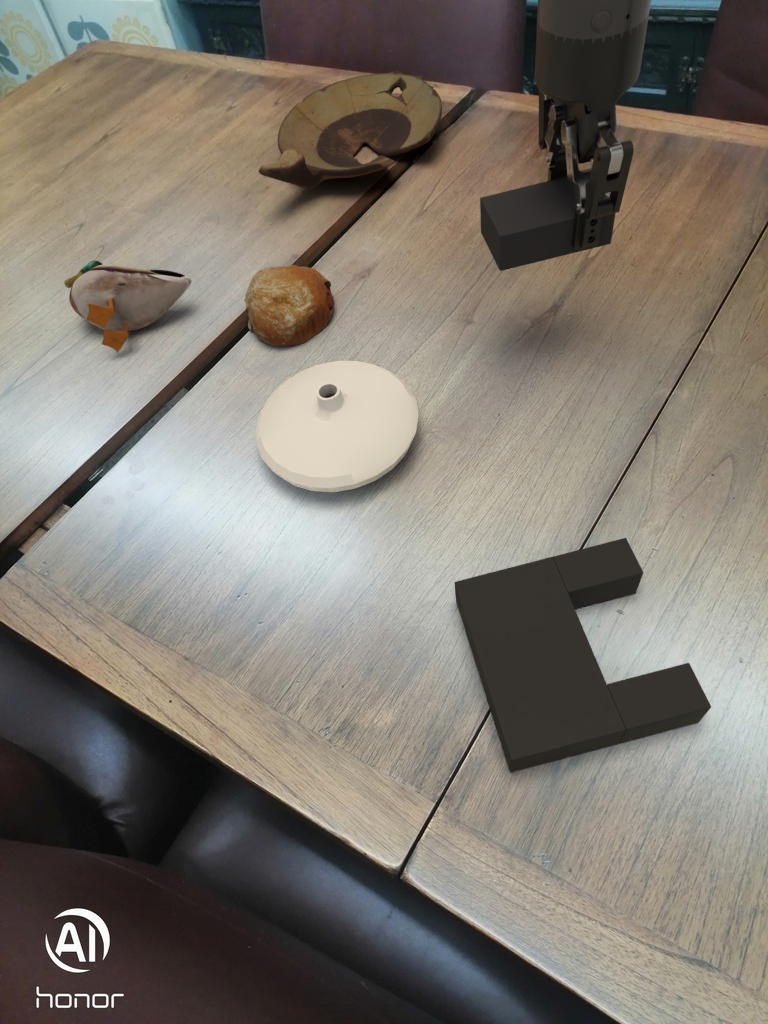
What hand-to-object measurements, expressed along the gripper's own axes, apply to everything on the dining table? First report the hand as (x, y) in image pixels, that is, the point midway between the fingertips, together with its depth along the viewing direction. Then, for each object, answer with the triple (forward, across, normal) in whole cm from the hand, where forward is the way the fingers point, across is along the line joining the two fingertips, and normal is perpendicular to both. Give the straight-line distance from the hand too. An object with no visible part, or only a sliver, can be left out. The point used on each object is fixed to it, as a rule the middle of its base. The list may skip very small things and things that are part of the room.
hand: (571, 225), depth 61 cm
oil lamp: (+13, +43, +16) cm, 48 cm away
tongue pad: (+1, 0, +2) cm, 3 cm away
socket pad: (+13, -34, +11) cm, 38 cm away
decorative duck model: (+13, +21, +45) cm, 51 cm away
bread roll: (+13, +13, +27) cm, 33 cm away
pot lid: (+13, -7, +25) cm, 29 cm away
